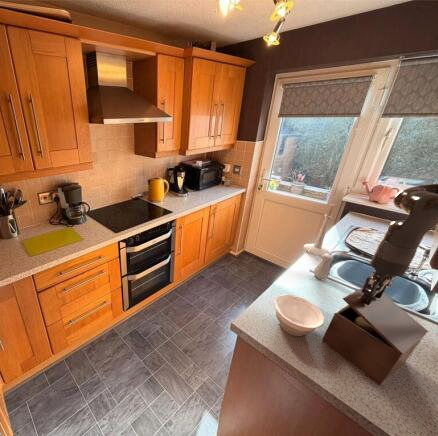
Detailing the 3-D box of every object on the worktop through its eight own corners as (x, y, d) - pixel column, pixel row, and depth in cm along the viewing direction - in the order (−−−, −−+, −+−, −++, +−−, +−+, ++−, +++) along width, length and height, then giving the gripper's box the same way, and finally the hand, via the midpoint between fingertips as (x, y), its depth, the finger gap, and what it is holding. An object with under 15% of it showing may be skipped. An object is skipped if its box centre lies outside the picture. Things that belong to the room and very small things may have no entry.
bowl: (321, 326, 88) (328, 309, 85) (311, 354, 78) (319, 336, 75) (276, 304, 99) (281, 288, 95) (262, 326, 88) (267, 309, 85)
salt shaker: (329, 279, 113) (338, 257, 108) (320, 282, 111) (329, 259, 106) (318, 272, 118) (326, 251, 113) (309, 274, 117) (317, 253, 111)
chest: (321, 340, 83) (334, 312, 77) (347, 324, 89) (361, 297, 83) (379, 385, 69) (401, 355, 63) (405, 362, 76) (426, 332, 70)
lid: (342, 298, 74) (354, 290, 71) (368, 283, 81) (381, 275, 77) (400, 354, 63) (418, 348, 60) (425, 332, 70) (443, 325, 66)
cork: (369, 353, 77) (383, 330, 73) (347, 348, 79) (359, 325, 75) (360, 338, 83) (373, 316, 78) (340, 333, 84) (351, 311, 80)
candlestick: (302, 243, 145) (317, 198, 133) (327, 248, 140) (345, 201, 127) (304, 252, 135) (320, 205, 122) (331, 258, 129) (350, 209, 117)
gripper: (398, 269, 61) (373, 315, 68) (421, 256, 67) (396, 300, 74) (364, 255, 68) (344, 299, 75) (388, 244, 73) (367, 286, 80)
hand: (370, 299), depth 74 cm, fingers closed on lid, 6 cm apart
